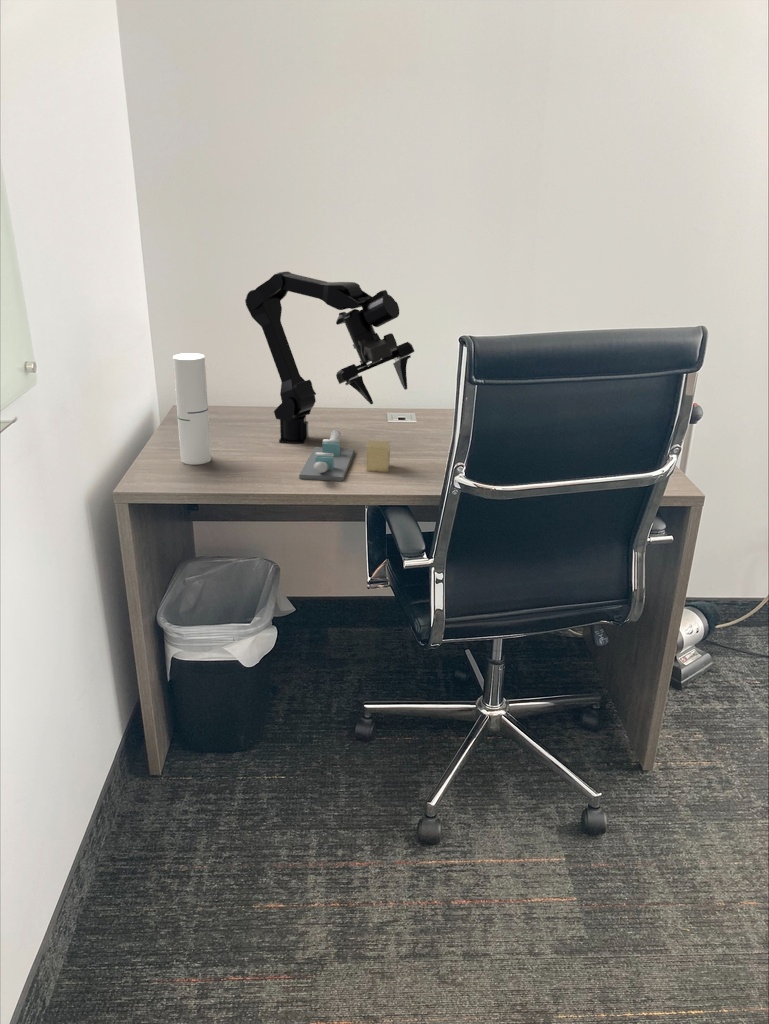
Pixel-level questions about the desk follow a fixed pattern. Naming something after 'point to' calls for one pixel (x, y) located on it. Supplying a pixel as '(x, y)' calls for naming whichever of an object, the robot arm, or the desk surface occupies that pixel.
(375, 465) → the block
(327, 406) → the desk surface
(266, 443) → the desk surface
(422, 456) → the desk surface
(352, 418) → the desk surface
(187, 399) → the cylindrical container
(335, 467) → the coupling stand
